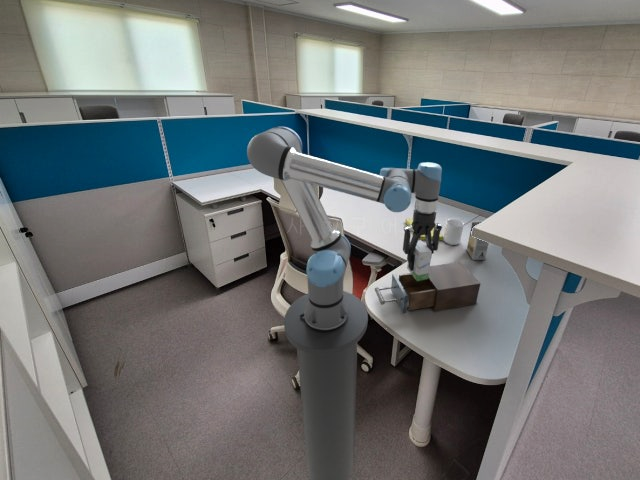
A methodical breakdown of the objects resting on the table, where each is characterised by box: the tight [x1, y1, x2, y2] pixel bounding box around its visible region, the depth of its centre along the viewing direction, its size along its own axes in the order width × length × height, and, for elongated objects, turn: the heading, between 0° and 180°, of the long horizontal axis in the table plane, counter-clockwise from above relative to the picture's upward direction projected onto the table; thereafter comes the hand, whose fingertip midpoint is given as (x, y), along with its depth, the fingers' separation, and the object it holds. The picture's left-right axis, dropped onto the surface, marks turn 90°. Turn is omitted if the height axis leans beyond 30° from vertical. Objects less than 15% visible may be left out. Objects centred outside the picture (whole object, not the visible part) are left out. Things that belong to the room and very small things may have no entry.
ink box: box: [406, 240, 433, 281], centre depth 109 cm, size 8×5×12 cm, turn 19°
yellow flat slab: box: [405, 217, 444, 241], centre depth 169 cm, size 12×2×24 cm
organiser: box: [428, 261, 481, 312], centre depth 118 cm, size 18×15×10 cm
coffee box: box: [466, 221, 490, 261], centre depth 145 cm, size 9×6×16 cm
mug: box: [443, 218, 465, 246], centre depth 159 cm, size 12×9×11 cm
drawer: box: [374, 272, 437, 314], centre depth 114 cm, size 24×13×8 cm, turn 106°
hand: (418, 267), depth 110 cm, fingers closed on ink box, 5 cm apart
